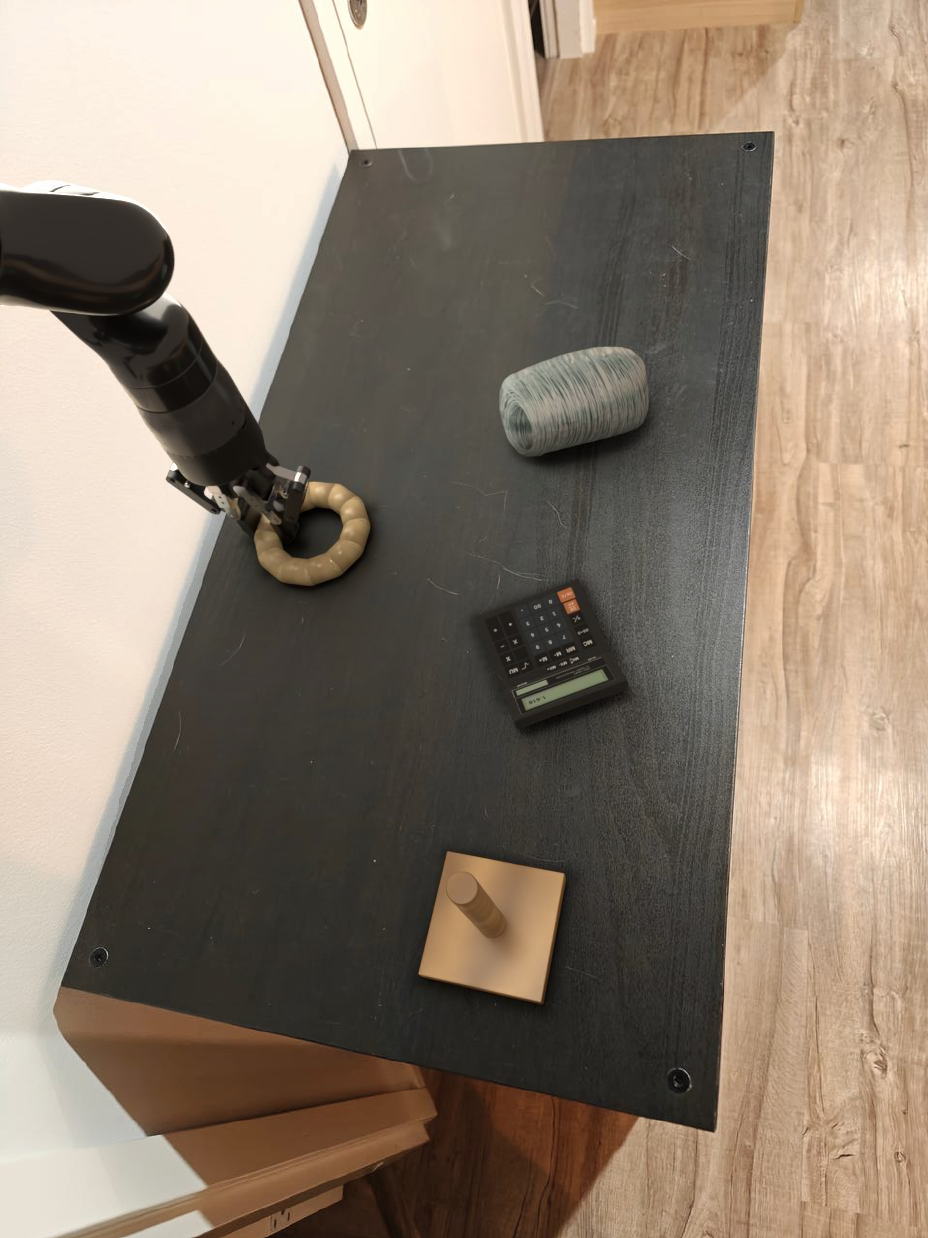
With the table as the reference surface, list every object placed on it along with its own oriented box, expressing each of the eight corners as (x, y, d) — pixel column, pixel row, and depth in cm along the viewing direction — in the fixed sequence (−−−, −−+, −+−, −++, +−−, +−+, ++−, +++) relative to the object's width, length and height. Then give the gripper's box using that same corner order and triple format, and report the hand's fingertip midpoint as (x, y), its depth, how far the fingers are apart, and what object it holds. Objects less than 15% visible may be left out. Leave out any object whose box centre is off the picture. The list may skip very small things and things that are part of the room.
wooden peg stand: (422, 977, 69) (373, 947, 57) (450, 855, 73) (410, 804, 61) (543, 1005, 66) (518, 980, 55) (566, 878, 70) (547, 829, 59)
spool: (502, 475, 84) (508, 365, 79) (491, 434, 92) (496, 331, 87) (652, 474, 85) (669, 366, 80) (628, 433, 93) (642, 332, 88)
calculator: (578, 583, 82) (576, 565, 79) (630, 699, 76) (629, 684, 73) (476, 621, 82) (470, 604, 79) (520, 739, 76) (515, 726, 73)
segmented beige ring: (245, 582, 88) (235, 569, 86) (281, 487, 92) (272, 472, 90) (353, 595, 85) (345, 582, 83) (384, 497, 90) (378, 482, 88)
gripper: (104, 447, 75) (196, 560, 90) (263, 460, 71) (332, 575, 86) (139, 374, 78) (223, 495, 93) (293, 383, 74) (354, 507, 89)
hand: (275, 533), depth 90 cm, fingers closed on segmented beige ring, 2 cm apart
